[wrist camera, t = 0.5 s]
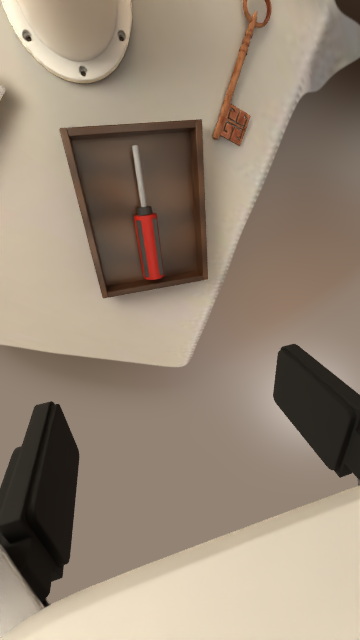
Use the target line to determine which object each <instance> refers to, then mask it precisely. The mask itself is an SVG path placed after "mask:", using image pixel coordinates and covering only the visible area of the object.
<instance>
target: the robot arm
mask: <svg viewBox="0 0 360 640" xmlns="http://www.w3.org/2000/svg"><path fill="white" fill-rule="evenodd" d="M1 2H2V5H3V8H4V10H5V13H6V15H7V17H8V19H9V21H10V23H11V25H12V27H13V29H14V31H15V33H16V34H17V36H18V38H19V39H20V41H21V42H22V44H23V45H24V46H25V47H26V49H27V50H28V51H29V53H30V54H31V55H32V56H33V57H34V58H35V59H36V60H37V61H38V62H39V63H40V64H41V65H42V66H43V67H45V68H46V69H47V70H49V71H50V72H52V73H53V74H55V75H57V76H59V77H61V78H63V79H65V80H68V81H72V82H76V83H91V82H96V81H99V80H101V79H103V78H105V77H107V76H108V75H109V74H110V73H112V72H113V71H114V70H115V69H116V68H117V66H118V65H119V63H120V62H121V60H122V59H123V56H124V54H125V52H126V49H127V46H128V42H129V38H130V33H131V25H132V4H131V0H1ZM27 37H30V38H31V41H30V42H28V41H27ZM119 37H122V38H123V42H122V41H120V40H119ZM82 71H84V72H85V73H86V75H85V76H82V74H81V72H82ZM273 397H274V400H275V402H276V404H277V405H278V406H279V407H280V409H281V410H282V411H283V412H284V414H285V415H286V416H287V417H288V419H289V420H290V421H291V422H292V424H293V425H294V426H295V427H296V429H297V430H298V431H299V432H300V433H301V435H302V436H303V437H304V438H305V440H306V441H307V442H308V443H309V445H310V446H311V447H312V448H313V450H314V451H315V452H316V453H317V455H318V456H319V457H320V458H321V460H322V461H323V462H324V463H325V465H326V466H327V467H328V468H329V469H331V470H334V471H335V472H336V473H337V475H338V476H339V477H343V476H345V475H349V474H351V473H352V472H353V473H354V475H355V476H356V477H357V478H358V486H357V487H354V488H351V489H348V490H345V491H343V492H340V493H337V494H335V495H332V496H329V497H326V498H323V499H321V500H318V501H315V502H312V503H310V504H307V505H304V506H301V507H299V508H296V509H293V510H291V511H288V512H285V513H282V514H280V515H277V516H275V517H272V518H269V519H266V520H264V521H261V522H258V523H256V524H253V525H250V526H248V527H245V528H242V529H239V530H237V531H234V532H232V533H229V534H226V535H223V536H221V537H218V538H216V539H213V540H210V541H207V542H205V543H202V544H199V545H197V546H194V547H192V548H189V549H186V550H184V551H181V552H178V553H176V554H173V555H170V556H168V557H165V558H162V559H160V560H157V561H155V562H152V563H149V564H147V565H144V566H141V567H139V568H136V569H133V570H131V571H129V572H126V573H123V574H121V575H118V576H116V577H114V578H111V579H108V580H106V581H104V582H101V583H99V584H96V585H93V586H91V587H88V588H86V589H83V590H81V591H79V592H77V593H75V594H72V595H70V596H68V597H66V598H64V599H62V600H60V601H57V602H55V603H53V604H50V603H49V601H48V600H47V598H46V597H47V596H48V595H49V593H50V587H51V582H52V581H54V580H57V579H60V578H62V576H63V566H64V565H65V564H67V563H68V562H69V559H70V550H71V540H72V529H73V519H74V507H75V497H76V487H77V476H78V465H79V451H78V448H77V445H76V443H75V440H74V438H73V436H72V433H71V431H70V428H69V426H68V424H67V421H66V419H65V417H64V414H63V412H62V409H61V407H60V405H59V404H56V405H55V404H54V403H53V402H47V403H43V404H39V405H36V406H35V407H34V410H33V413H32V416H31V419H30V422H29V425H28V429H27V432H26V435H25V438H24V441H23V444H22V446H21V447H18V448H16V449H15V450H14V452H13V454H12V456H11V459H10V462H9V465H8V468H7V470H6V474H5V476H4V479H3V482H2V485H1V488H0V640H360V395H359V394H358V393H356V392H355V391H354V390H353V389H351V388H350V387H349V386H348V385H346V384H345V383H344V382H343V381H342V380H340V379H339V378H338V377H337V376H335V375H334V374H333V373H331V372H330V371H329V370H328V369H326V368H325V367H324V366H323V365H321V364H320V363H319V362H318V361H317V360H315V359H314V358H313V357H312V356H310V355H309V354H308V353H307V352H305V351H304V350H303V349H301V348H300V347H299V346H298V345H296V344H292V345H288V346H284V347H282V348H281V350H280V351H279V352H278V358H277V366H276V375H275V384H274V393H273Z"/></svg>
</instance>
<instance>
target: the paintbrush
mask: <svg viewBox="0 0 360 640" xmlns="http://www.w3.org/2000/svg"><path fill="white" fill-rule="evenodd" d="M5 91H6V90H5V89H4V88H3V87H2V86H1V85H0V101H1V99H2V97H3V95H4V93H5Z"/></svg>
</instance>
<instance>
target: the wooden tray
mask: <svg viewBox="0 0 360 640" xmlns="http://www.w3.org/2000/svg"><path fill="white" fill-rule="evenodd" d="M60 133H61V137H62V141H63V145H64V149H65V153H66V157H67V160H68V164H69V168H70V172H71V176H72V180H73V184H74V188H75V192H76V195H77V199H78V203H79V207H80V211H81V215H82V219H83V223H84V227H85V230H86V234H87V238H88V242H89V246H90V250H91V254H92V258H93V262H94V265H95V269H96V273H97V277H98V281H99V285H100V289H101V293H102V297H103V298H107V297H113V296H119V295H124V294H130V293H135V292H141V291H146V290H152V289H157V288H163V287H168V286H174V285H179V284H185V283H190V282H196V281H201V280H206V279H208V266H207V241H206V215H205V190H204V165H203V139H202V120H201V119H200V120H185V121H168V122H152V123H136V124H120V125H104V126H88V127H72V128H60ZM133 145H138V146H139V154H140V161H141V168H142V175H143V182H144V189H145V196H146V203H147V206H151V208H152V213H156V214H157V220H158V228H159V236H160V244H161V252H162V260H163V268H164V277H162V278H160V279H156V280H147V279H144V276H143V270H142V264H141V257H140V251H139V245H138V239H137V233H136V227H135V221H134V216H135V215H138V213H137V207H141V203H140V197H139V190H138V183H137V177H136V170H135V163H134V157H133V150H132V146H133Z"/></svg>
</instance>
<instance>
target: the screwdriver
mask: <svg viewBox="0 0 360 640" xmlns="http://www.w3.org/2000/svg"><path fill="white" fill-rule="evenodd" d="M132 150H133V157H134V163H135V170H136V177H137V183H138V190H139V197H140V203H141V207H137V213H138V215H135V216H134V221H135V227H136V233H137V239H138V245H139V251H140V257H141V264H142V270H143V276H144V279H147V280H156V279H160V278H162V277H164V268H163V260H162V252H161V244H160V236H159V228H158V220H157V214H156V213H152V208H151V206H147V203H146V196H145V189H144V182H143V175H142V168H141V161H140V154H139V146H138V145H133V146H132Z"/></svg>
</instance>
